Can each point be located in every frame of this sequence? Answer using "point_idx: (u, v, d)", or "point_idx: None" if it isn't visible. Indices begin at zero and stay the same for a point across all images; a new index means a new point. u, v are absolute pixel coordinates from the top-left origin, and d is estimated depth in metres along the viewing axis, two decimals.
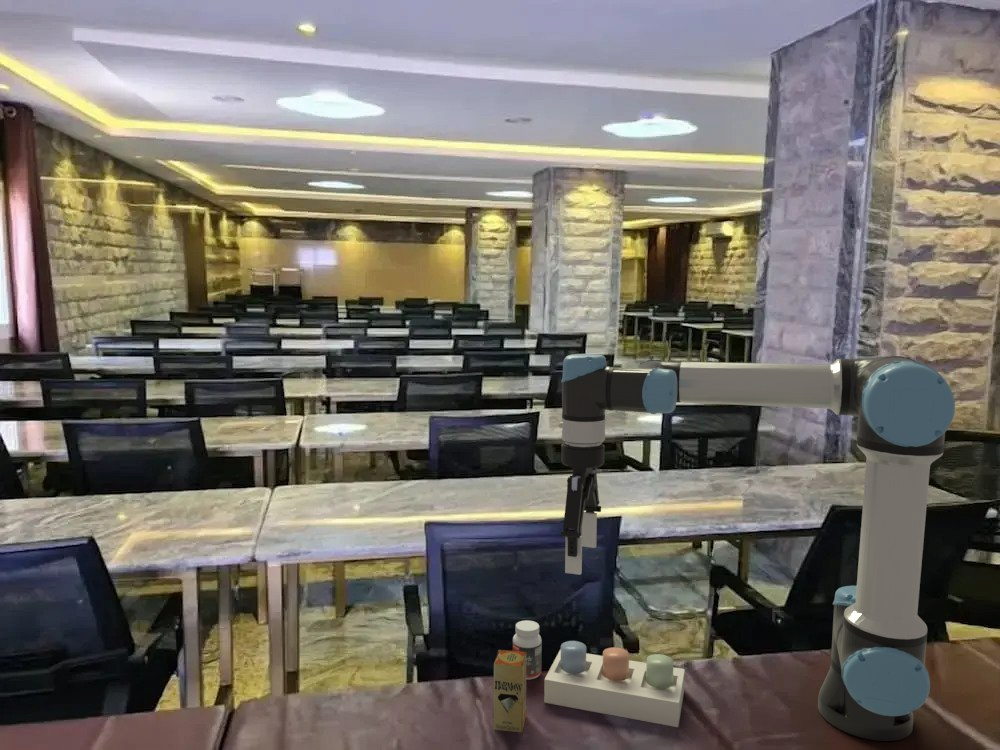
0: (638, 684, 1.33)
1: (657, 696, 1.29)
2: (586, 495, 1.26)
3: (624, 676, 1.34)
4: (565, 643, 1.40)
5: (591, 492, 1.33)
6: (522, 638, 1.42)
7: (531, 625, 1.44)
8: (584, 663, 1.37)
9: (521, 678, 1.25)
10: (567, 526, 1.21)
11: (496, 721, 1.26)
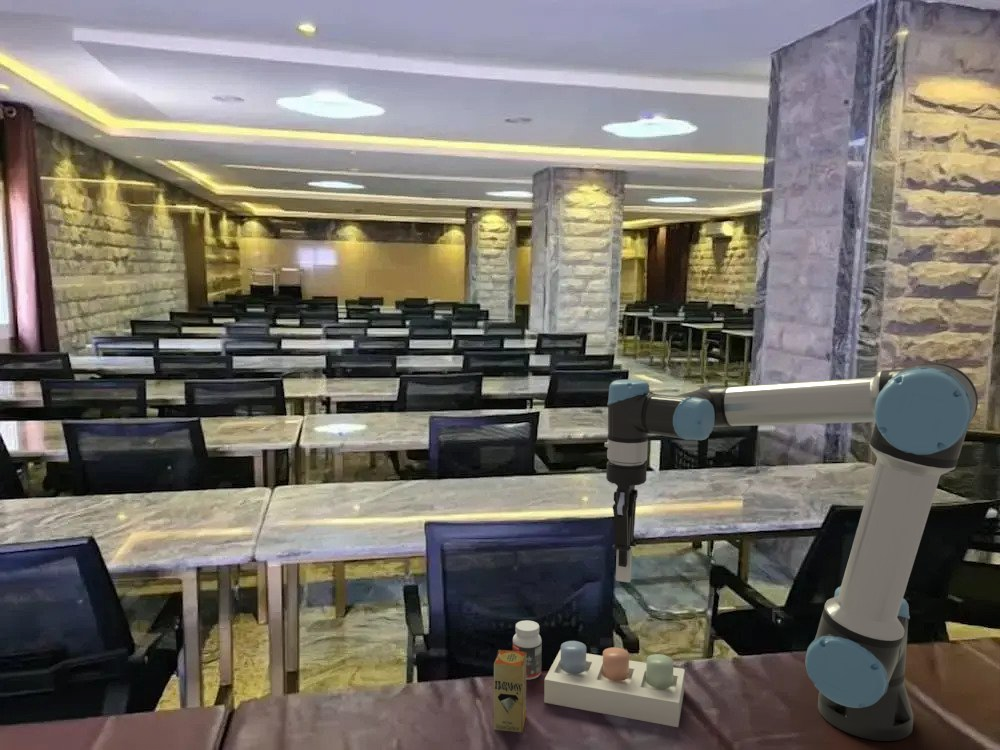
0: (638, 684, 1.33)
1: (657, 696, 1.29)
2: (631, 513, 1.39)
3: (624, 676, 1.34)
4: (565, 643, 1.40)
5: None
6: (521, 638, 1.42)
7: (531, 625, 1.44)
8: (584, 663, 1.37)
9: (521, 678, 1.25)
10: (618, 543, 1.38)
11: (496, 721, 1.26)
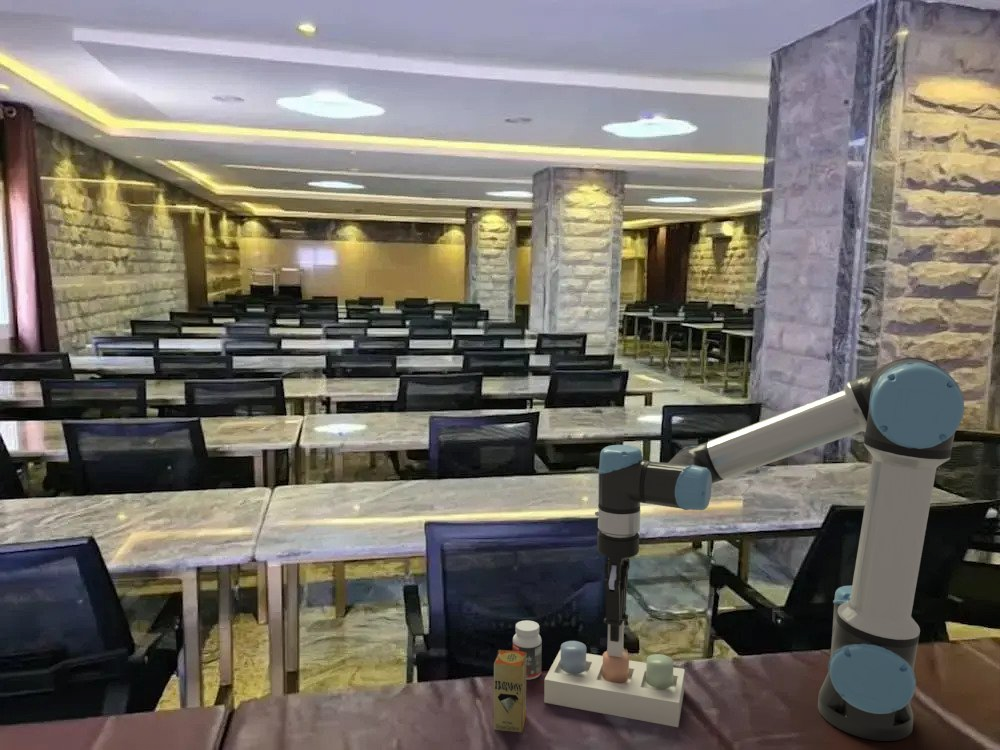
0: (638, 684, 1.33)
1: (657, 696, 1.29)
2: (623, 586, 1.32)
3: (624, 678, 1.34)
4: (565, 643, 1.40)
5: None
6: (521, 638, 1.42)
7: (531, 625, 1.44)
8: (584, 663, 1.37)
9: (521, 678, 1.25)
10: (609, 618, 1.31)
11: (496, 721, 1.26)
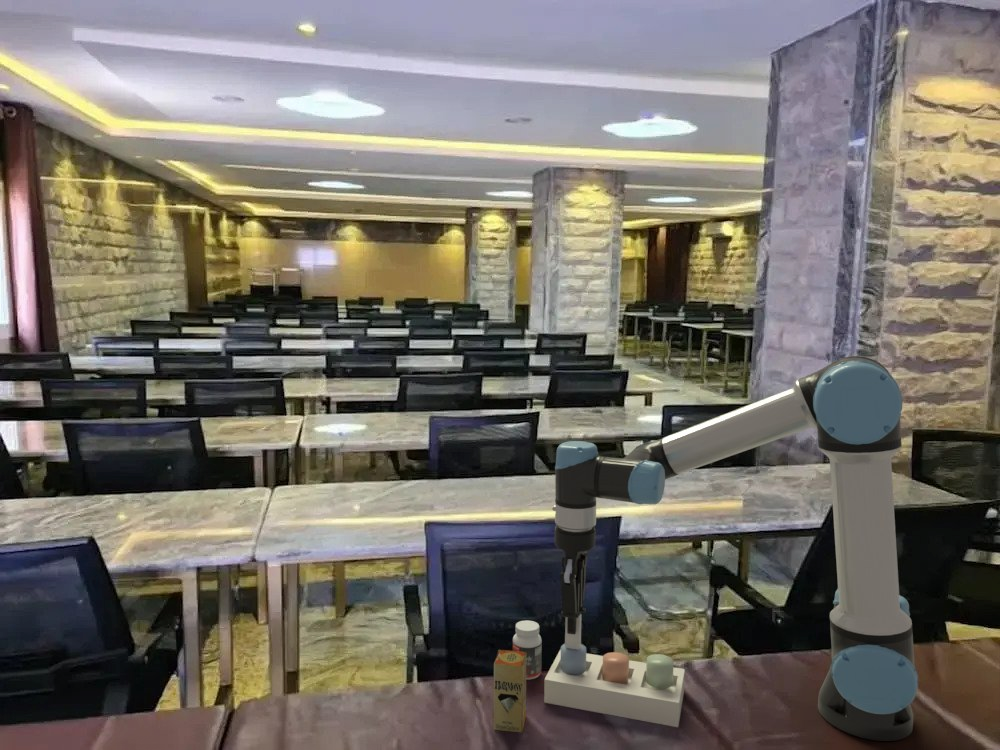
0: (638, 684, 1.33)
1: (657, 696, 1.29)
2: (579, 580, 1.34)
3: (624, 681, 1.34)
4: None
5: None
6: (521, 638, 1.42)
7: (531, 625, 1.44)
8: (584, 664, 1.37)
9: (521, 678, 1.25)
10: (566, 611, 1.34)
11: (496, 721, 1.26)
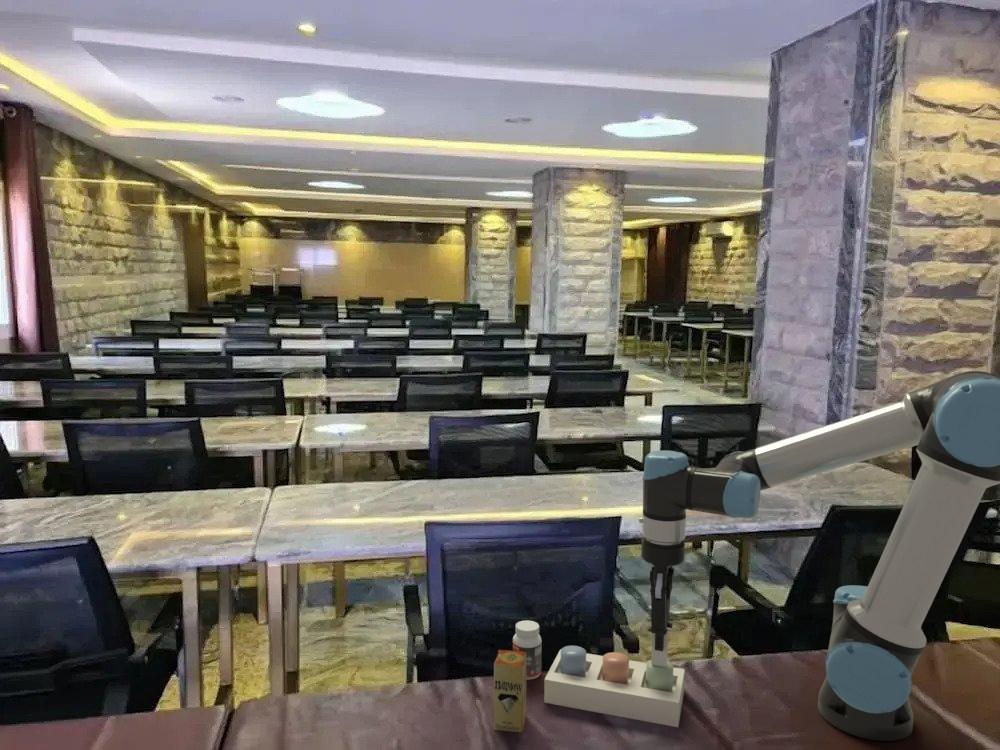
0: (638, 684, 1.33)
1: (657, 696, 1.29)
2: (668, 594, 1.29)
3: (624, 681, 1.34)
4: (565, 648, 1.40)
5: None
6: (521, 638, 1.42)
7: (531, 625, 1.44)
8: (584, 668, 1.37)
9: (521, 678, 1.25)
10: (655, 627, 1.29)
11: (496, 721, 1.26)
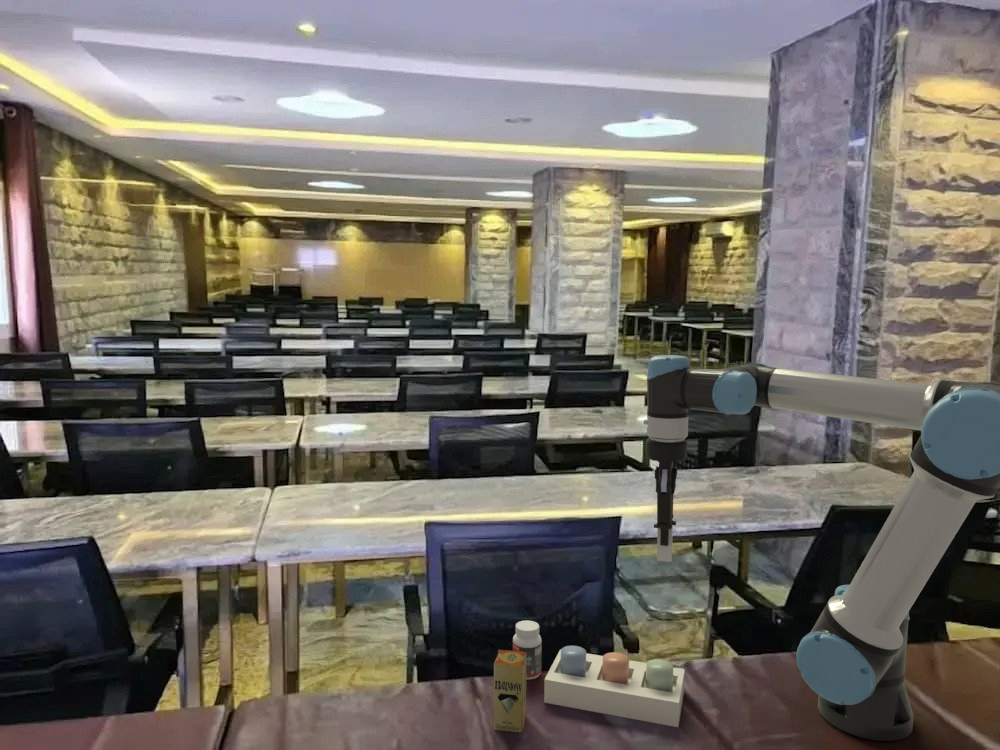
0: (638, 684, 1.33)
1: (657, 696, 1.29)
2: (673, 490, 1.36)
3: (624, 681, 1.34)
4: (565, 648, 1.40)
5: None
6: (522, 638, 1.42)
7: (531, 625, 1.44)
8: (584, 668, 1.37)
9: (521, 678, 1.25)
10: (661, 521, 1.35)
11: (496, 721, 1.26)
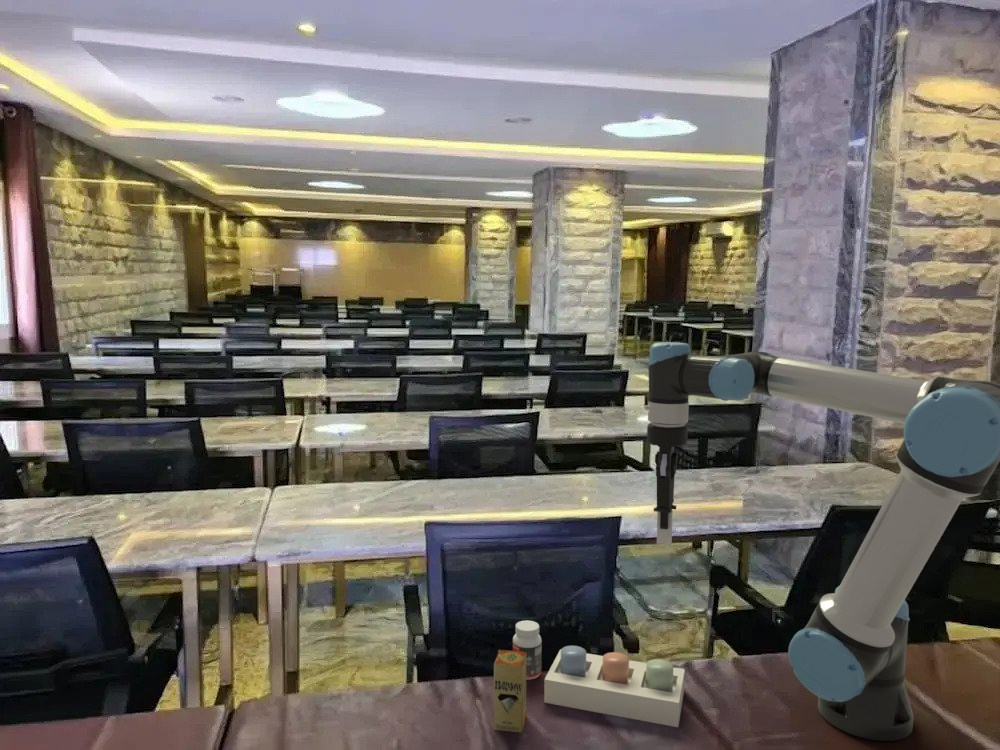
0: (638, 684, 1.33)
1: (657, 696, 1.29)
2: (673, 475, 1.39)
3: (624, 681, 1.34)
4: (565, 648, 1.40)
5: None
6: (522, 638, 1.42)
7: (531, 625, 1.44)
8: (584, 668, 1.37)
9: (521, 678, 1.25)
10: (660, 505, 1.38)
11: (496, 721, 1.26)
